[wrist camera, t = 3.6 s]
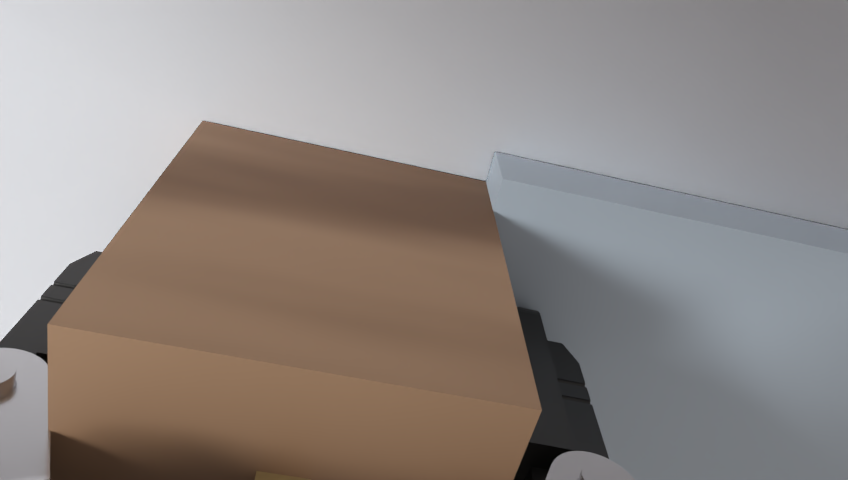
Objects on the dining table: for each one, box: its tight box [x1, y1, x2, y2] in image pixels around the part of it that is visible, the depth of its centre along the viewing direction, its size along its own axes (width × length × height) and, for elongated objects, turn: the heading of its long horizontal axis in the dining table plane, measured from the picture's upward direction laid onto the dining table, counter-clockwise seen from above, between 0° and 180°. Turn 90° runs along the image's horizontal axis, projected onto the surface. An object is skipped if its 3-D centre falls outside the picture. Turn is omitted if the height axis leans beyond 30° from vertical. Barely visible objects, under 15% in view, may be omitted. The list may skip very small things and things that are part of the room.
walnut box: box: [47, 121, 542, 480], centre depth 11 cm, size 5×5×7 cm
